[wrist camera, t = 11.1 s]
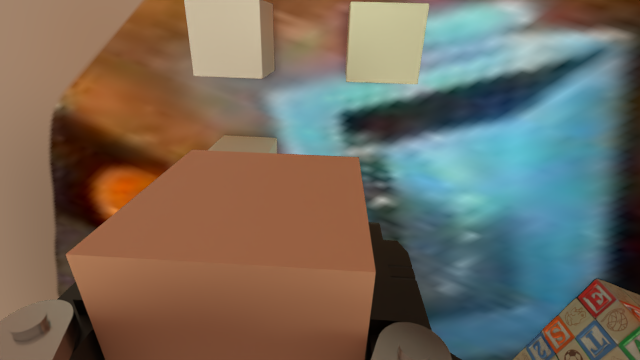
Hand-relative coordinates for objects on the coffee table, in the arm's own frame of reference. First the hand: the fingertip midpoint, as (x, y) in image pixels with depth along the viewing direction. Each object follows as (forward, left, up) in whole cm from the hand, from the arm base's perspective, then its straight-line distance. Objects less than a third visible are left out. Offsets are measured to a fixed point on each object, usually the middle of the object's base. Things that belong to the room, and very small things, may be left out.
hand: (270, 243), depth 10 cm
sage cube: (-5, -5, -21) cm, 22 cm away
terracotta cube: (0, 0, -1) cm, 1 cm away
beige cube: (+6, -5, -21) cm, 22 cm away
